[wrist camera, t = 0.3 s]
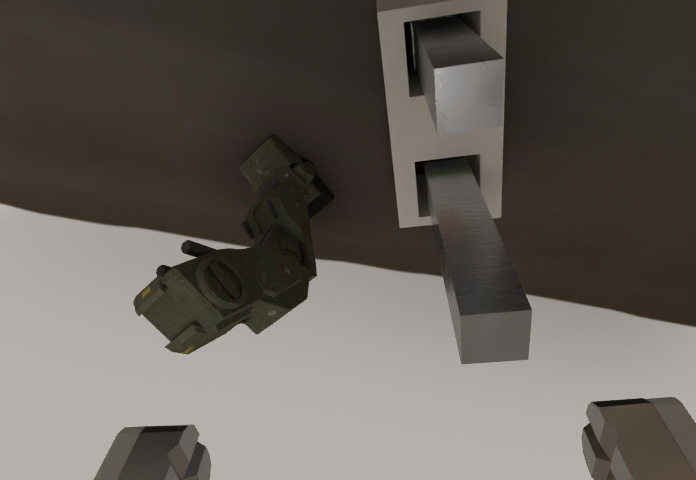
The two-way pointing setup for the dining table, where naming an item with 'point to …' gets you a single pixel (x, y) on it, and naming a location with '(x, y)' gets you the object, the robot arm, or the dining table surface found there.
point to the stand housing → (413, 113)
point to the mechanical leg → (244, 259)
